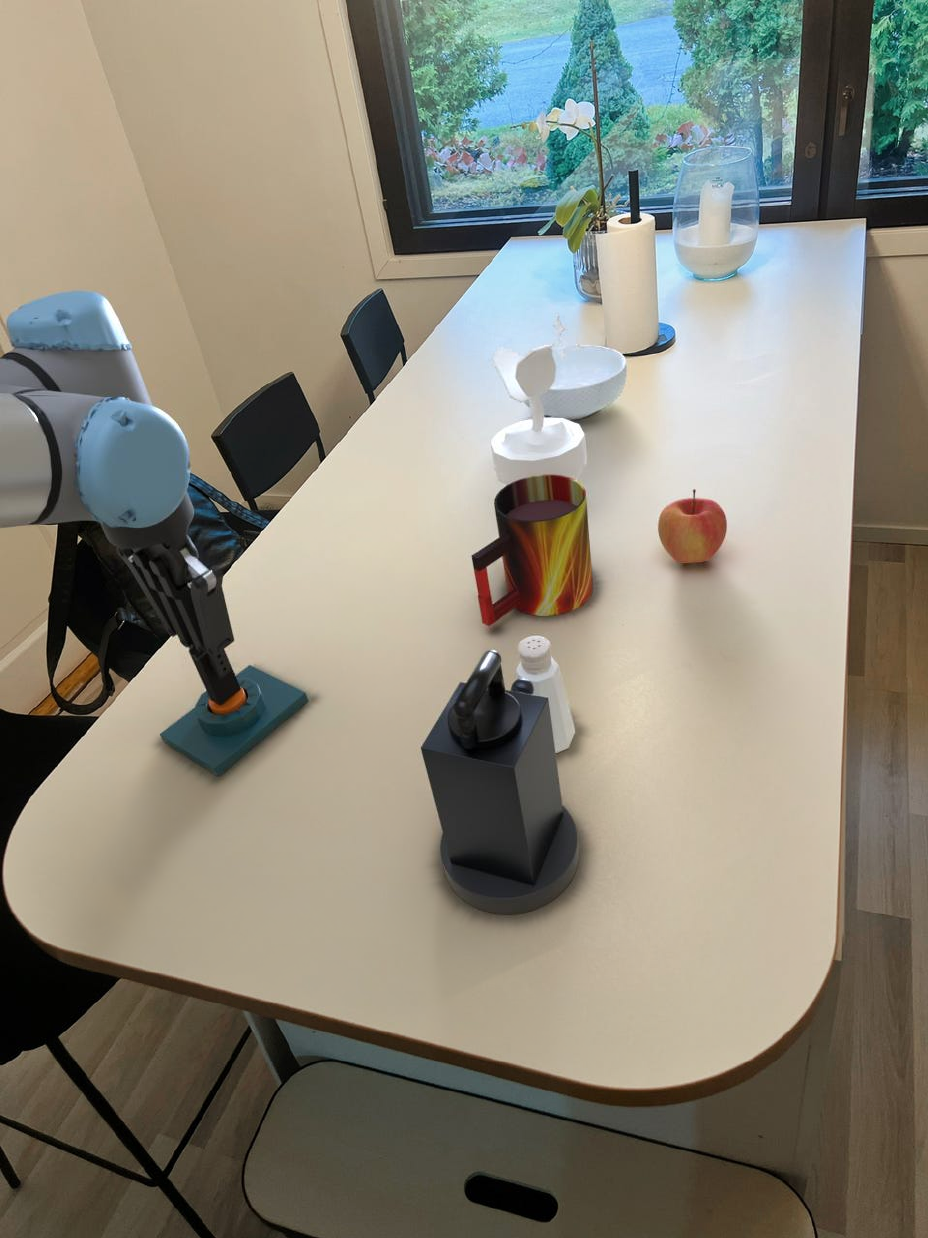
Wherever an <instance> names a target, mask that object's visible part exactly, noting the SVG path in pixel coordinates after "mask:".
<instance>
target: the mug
mask: <svg viewBox="0 0 928 1238" xmlns="http://www.w3.org/2000/svg"><path fill="white" fill-rule="evenodd" d="M493 506H494V513H495V519H496V526H497V531H498V532H497V533H498V537H497V538H496V539H494V540H493V541H491V542H490V543H489V544H487V545H486V546H483V547H482V548H481V549H479V550H478V551H476V552H475V553H473V554H471V562H472V567H473V574H474V578H475V584H476V589H477V600H478V606H479V611H480V617H481V623H482V624H483V625H485V626H486V627H489V628H490V627H491V626H493V625H494V624H495V623H496V622H498V621H499V620H500V619H502V618H503V617H505V616H506V615H507V614H509V613H510V612H511V611H513V610H514V609H516V610H519V611H520V612H522V613H524V614H527V615H532V616H538V617H552V616H553V617H554V616H559V615H563V614H566V613H570V612H572V611H574V610H576V609H579V608H580V607H581V606H583V605H584V604H585V603H587V602H588V601H589V600H590V598H591V596H592V594H593V591H594V579H593V569H592V567H593V566H592V555H591V554H592V553H591V541H590V527H589V526H590V525H589V514H588V502H587V491H586V488H585V486H584V484H582V483H581V482H580V481H578V480H575V479H572V478H570V477H566V476H562V475H535V476H530V477H526V478H522V479H519V480H517V481H514V482H512V483H510V484H508V485H507V484H506V485H505V486H504V487H503V488H501V489H500V490H499V491H498V493H496V495H495V497H494V500H493ZM499 559H502V565H503V573H504V578H505V585H506V586H505V587H506V592H507V593H506V594H505V595H503V596H502V597H500V598H499V599H497V601H495V602H493V599H492V593H491V586H490V580H489V575H488V567H489V566H490V565H492V564H494V563H495V562H496V561H498V560H499Z"/></svg>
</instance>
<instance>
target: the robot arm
mask: <svg viewBox="0 0 928 1238" xmlns="http://www.w3.org/2000/svg"><path fill="white" fill-rule="evenodd" d="M5 325H6V329H7V333H8V336H9V342H10V344H11V347H13V349H11V350H10V351H7V352H6V353H4V354H2V356H1V357H0V529H5V528H14V527H24V526H42V525H43V526H44V525H52V524H59V523H60V524H61V523H69V522H81V521H88V522H89V521H91V522H96V523H99V524H100V526H101V528H102V531H103V532H104V535H105V537H106V539H107V540H108V542H109V543H111V544H112V545H113V546H115V547H116V552H117V554H118V556H119V557H120V558H121V559H122V561H123V562H124V563H125V564H126V566H127V567H128V568H129V570H130V571H131V573H132V574H133V576H134V578H135V579H136V581H137V583H138V584H139V587H140V588H141V590H142V592H143V593H144V594H145V597H146V598H147V600H148V601H149V603H150V606H152V608H153V610H154V612H155V614H156V615H157V617H158V619H159V620H160V622H161V623H162V625H163V627H164V629H165V630H166V632H167V634H168V635H169V636H170V637H172V638H173V637H176V636H177V637H178V640H179V643H180V644H181V645H182V646H183V647H184V648H186V649H188V653H189V655H190V658H191V659H192V662H193V665H194V666H195V669H196V671H197V673H198V676H199V677H200V679H201V682H202V684H203V686H204V688H205V691H207V693H208V695H209V697H210V699H211V701H213V702H215V703H216V704H218V705H222V704H223V703H224V702H225V701H227V700H228V699H229V698H231V697H232V696H233V695H234V694H236V693H237V692H238V691H239V690H241V688H240V685H239V683H238V681H237V678H236V674H235V670H234V669H233V667H232V664H231V662H230V660H229V658H228V654H227V652H226V650H225V649H227V648H228V647H229V646H230V645H231V644H233V643H234V642H235V637H234V632H233V627H232V624H231V620H230V614H229V610H228V606H227V601H226V598H225V593H224V589H223V580H224V572H223V570H222V569H221V567H219V566H218V565H216V564H214V565H212V566H211V567H210V568H208V567H206V566H205V564H203V563H202V562H201V561H200V560H199V552H198V549H197V547H196V545H195V544H194V543H193V541H192V539H191V537H190V536H189V535H188V529H189V527H190V525H191V522H192V521H193V520H194V516H195V508H194V505H193V503H192V501H191V498H190V495H189V492H188V490H187V489H188V487H189V484H190V479H191V461H190V460H191V455H190V448H189V445H188V442H187V439H186V435H185V434H184V432H183V431H182V429H181V428H180V426H179V424H178V423H177V422H176V421H175V420H174V419H173V418H172V417H171V416H170V415H169V414H168V413H166V412H165V410H164V411H163V410H162V409H160V408H159V407H156V406H154V405H153V403H152V400H151V397H150V395H149V392H148V389H147V387H146V384H145V382H144V379H143V376H142V374H141V370H140V368H139V366H138V365H139V364H138V363H137V361H136V358H135V355H134V352H133V350H132V349H133V346H132V344H131V342H130V341H129V340H128V338H127V336H126V333H125V331H124V328H123V326H122V324H121V322H120V320H119V317H118V316H117V314H116V312H115V310H114V309H113V306H112V305H111V303H110V302H109V301H108V299H107V298H106V297H105V296H103V295H102V294H100V293H98V292H95V291H91V290H70V291H63V292H59V293H54V294H50V295H46V296H43V297H39V298H37V299H34V300H30V301H29V302H27V303H25V304H22V305H20V306H19V307H18V309H15V310H14V311H12V312H10V314H8V316H7V318H6V322H5Z"/></svg>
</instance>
